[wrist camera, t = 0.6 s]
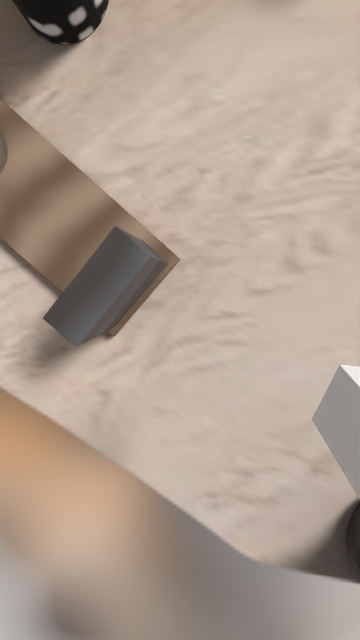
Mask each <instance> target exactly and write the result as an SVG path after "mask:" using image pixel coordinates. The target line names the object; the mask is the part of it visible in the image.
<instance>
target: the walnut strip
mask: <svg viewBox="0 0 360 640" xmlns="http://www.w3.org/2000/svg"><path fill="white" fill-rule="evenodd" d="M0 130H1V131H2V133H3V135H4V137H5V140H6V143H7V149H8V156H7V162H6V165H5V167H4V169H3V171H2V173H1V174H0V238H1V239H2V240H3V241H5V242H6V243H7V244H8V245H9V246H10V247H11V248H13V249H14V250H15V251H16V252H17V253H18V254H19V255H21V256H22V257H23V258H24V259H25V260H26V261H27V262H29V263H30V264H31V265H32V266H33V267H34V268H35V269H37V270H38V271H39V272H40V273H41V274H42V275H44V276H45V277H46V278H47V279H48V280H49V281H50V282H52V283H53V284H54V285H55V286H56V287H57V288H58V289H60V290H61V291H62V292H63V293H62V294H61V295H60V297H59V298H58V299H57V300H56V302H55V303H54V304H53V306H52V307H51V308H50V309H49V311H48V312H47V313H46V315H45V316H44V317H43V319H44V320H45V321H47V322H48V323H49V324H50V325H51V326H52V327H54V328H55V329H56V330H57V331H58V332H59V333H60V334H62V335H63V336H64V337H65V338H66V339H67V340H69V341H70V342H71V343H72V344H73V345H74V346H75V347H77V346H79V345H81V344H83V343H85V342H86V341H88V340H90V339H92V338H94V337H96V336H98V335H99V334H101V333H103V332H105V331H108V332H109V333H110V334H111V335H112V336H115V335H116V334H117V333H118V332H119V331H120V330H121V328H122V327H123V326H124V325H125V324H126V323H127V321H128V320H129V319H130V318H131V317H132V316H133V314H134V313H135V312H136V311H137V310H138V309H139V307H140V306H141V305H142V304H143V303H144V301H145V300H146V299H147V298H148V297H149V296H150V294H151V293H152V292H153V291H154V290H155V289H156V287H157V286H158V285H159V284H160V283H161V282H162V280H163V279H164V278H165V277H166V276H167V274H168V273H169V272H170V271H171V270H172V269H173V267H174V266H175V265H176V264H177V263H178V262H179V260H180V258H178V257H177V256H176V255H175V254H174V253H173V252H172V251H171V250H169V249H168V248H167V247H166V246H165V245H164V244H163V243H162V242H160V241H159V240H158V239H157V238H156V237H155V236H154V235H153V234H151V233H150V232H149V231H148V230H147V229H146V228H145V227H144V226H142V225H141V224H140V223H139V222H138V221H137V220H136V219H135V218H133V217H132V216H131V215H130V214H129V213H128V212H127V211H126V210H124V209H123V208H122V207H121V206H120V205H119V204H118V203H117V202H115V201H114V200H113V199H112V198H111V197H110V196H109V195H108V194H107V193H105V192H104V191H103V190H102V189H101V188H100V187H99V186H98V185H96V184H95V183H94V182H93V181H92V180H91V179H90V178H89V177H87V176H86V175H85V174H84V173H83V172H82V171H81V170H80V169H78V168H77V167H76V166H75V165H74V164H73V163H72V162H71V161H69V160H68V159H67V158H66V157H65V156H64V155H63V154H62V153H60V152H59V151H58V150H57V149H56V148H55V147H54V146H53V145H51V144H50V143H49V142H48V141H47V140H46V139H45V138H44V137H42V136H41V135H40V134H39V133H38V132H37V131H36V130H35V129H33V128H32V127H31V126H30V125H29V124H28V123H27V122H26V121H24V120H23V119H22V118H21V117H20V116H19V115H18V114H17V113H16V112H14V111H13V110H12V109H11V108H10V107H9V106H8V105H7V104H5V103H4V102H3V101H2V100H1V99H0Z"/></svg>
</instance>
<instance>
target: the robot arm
mask: <svg viewBox="0 0 360 640" xmlns="http://www.w3.org/2000/svg"><path fill="white" fill-rule="evenodd" d="M312 420H313V422H314V423H315V425H316V427H317V428H318V430H319V432H320V433H321V435H322V437H323V438H324V440H325V442H326V443H327V445H328V447H329V449H330V450H331V452H332V454H333V455H334V457H335V459H336V460H337V462H338V464H339V465H340V467H341V469H342V470H343V472H344V474H345V476H346V477H347V479H348V481H349V482H350V484H351V486H352V487H353V489H354V491H355V492H356V494H357V496H358V497H359V499H360V368H359V367H356V366H347V365H339V367H338V369H337V371H336V373H335V375H334V377H333V379H332V381H331V383H330V385H329V387H328V389H327V391H326V393H325V395H324V397H323V398H322V400H321V402H320V404H319V406H318V408H317V410H316V412H315V414H314V416H313V418H312ZM347 546H348V552H349V556H350V559H351V561H352V563H353V565H354V567H355V569H356V571H357V573H358V575H359V577H360V505H359V506H358V508H357V509H356V511H355V513H354V514H353V517H352V519H351V521H350V524H349V528H348V534H347Z"/></svg>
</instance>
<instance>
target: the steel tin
mask: <svg viewBox="0 0 360 640" xmlns="http://www.w3.org/2000/svg"><path fill="white" fill-rule="evenodd" d="M7 156H8V149H7V143H6V140H5V137H4V135H3V133H2V131H1V130H0V174H1V173H2V171H3V169H4V167H5V165H6V162H7Z"/></svg>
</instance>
